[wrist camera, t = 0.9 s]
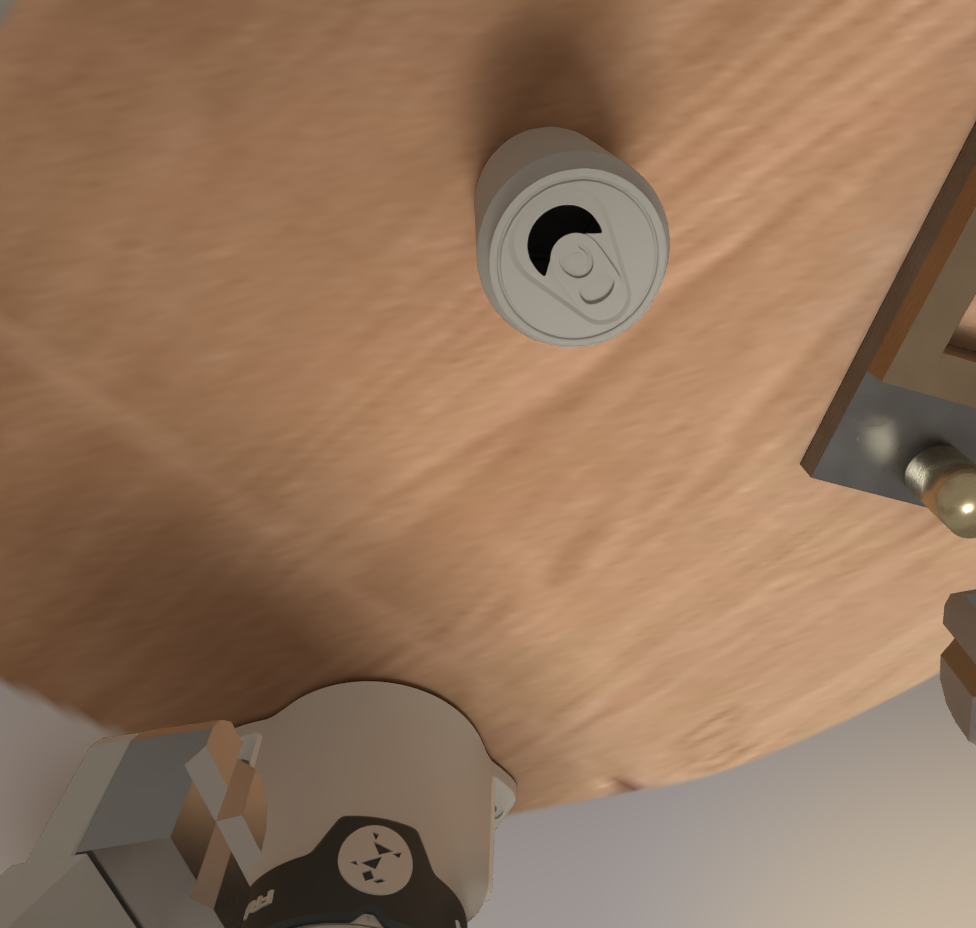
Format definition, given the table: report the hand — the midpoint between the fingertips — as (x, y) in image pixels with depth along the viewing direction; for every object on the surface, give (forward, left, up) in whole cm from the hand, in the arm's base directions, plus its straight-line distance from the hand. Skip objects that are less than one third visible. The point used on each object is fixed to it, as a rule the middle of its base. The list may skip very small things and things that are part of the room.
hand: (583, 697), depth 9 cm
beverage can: (+1, -2, -30) cm, 30 cm away
